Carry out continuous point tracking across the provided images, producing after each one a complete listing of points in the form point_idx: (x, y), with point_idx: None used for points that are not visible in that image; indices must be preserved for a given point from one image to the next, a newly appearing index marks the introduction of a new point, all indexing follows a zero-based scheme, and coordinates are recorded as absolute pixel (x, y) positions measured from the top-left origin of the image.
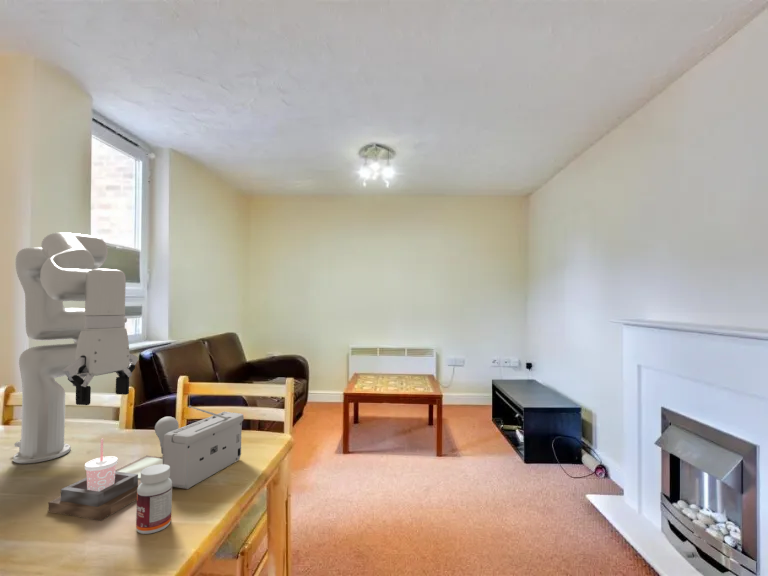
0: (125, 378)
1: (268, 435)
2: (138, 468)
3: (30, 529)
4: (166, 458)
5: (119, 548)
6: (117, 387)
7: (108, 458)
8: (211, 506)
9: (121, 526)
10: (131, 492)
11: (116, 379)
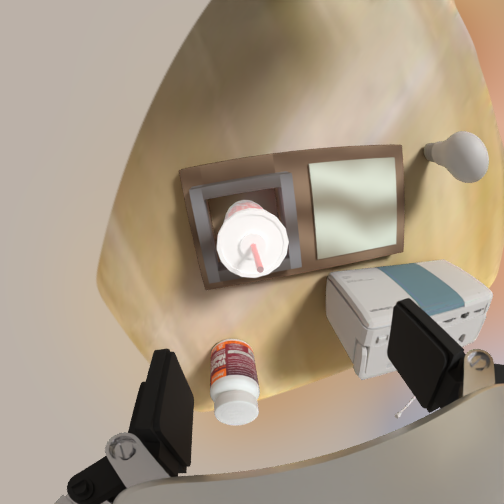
0: (426, 407)
1: (496, 258)
2: (349, 193)
3: (140, 208)
4: (343, 306)
5: (182, 357)
6: (410, 333)
7: (275, 238)
8: (297, 370)
9: (211, 321)
10: (270, 275)
11: (440, 353)
